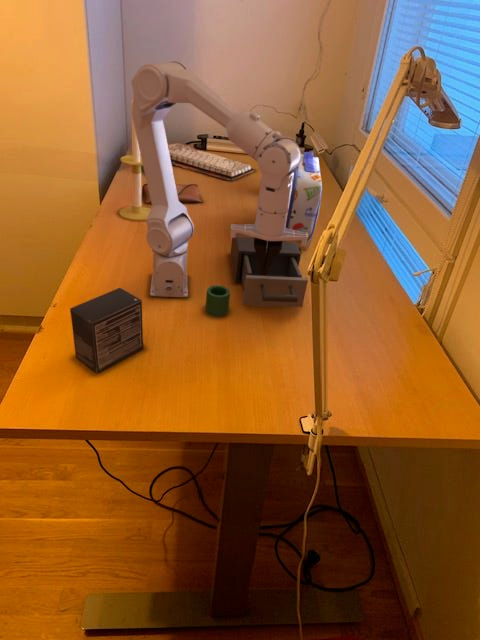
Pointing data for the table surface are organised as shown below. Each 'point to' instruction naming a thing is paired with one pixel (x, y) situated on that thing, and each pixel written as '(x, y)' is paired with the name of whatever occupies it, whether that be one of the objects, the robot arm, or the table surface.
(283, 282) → the dish drawer
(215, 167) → the mechanical keyboard
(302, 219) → the lunch box
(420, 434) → the table surface
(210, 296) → the jar
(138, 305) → the small box
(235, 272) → the drawer cabinet
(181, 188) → the sunglasses case
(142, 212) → the candle
